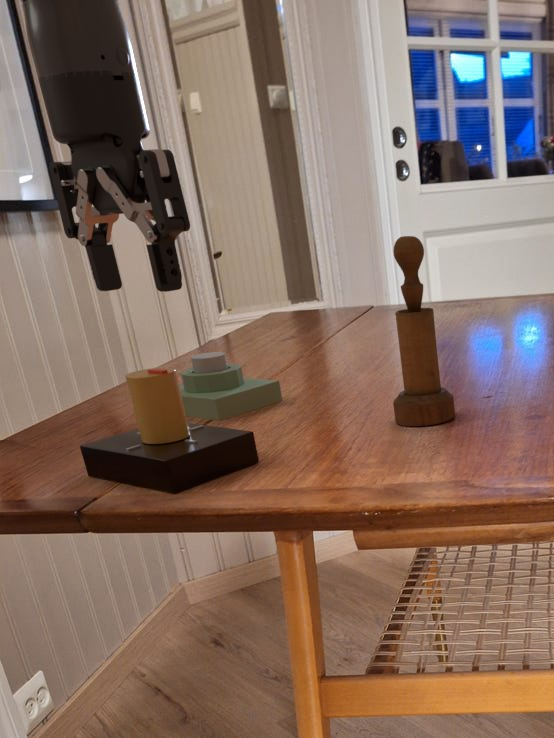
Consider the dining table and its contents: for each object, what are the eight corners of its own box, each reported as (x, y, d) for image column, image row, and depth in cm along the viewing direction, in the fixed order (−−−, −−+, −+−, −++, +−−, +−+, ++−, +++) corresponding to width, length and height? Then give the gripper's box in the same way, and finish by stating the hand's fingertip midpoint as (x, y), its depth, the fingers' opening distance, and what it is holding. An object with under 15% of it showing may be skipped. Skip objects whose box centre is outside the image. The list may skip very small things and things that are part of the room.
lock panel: (88, 476, 83) (78, 443, 81) (173, 448, 90) (166, 418, 88) (174, 494, 76) (165, 458, 74) (259, 462, 83) (253, 429, 82)
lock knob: (132, 441, 81) (114, 372, 78) (170, 429, 84) (154, 363, 81) (161, 446, 79) (144, 375, 76) (200, 434, 82) (184, 365, 79)
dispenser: (154, 412, 106) (145, 375, 103) (218, 394, 113) (210, 358, 111) (219, 421, 99) (211, 381, 97) (282, 401, 106) (276, 363, 104)
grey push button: (187, 375, 104) (183, 357, 103) (213, 368, 106) (210, 351, 106) (209, 377, 102) (205, 359, 101) (235, 370, 104) (232, 352, 103)
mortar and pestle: (407, 411, 97) (388, 235, 89) (462, 411, 96) (448, 231, 87) (386, 427, 92) (364, 240, 83) (445, 427, 90) (428, 236, 81)
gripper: (-6, 82, 70) (55, 296, 78) (99, 57, 62) (155, 297, 70) (77, 85, 75) (126, 285, 83) (183, 62, 68) (226, 284, 75)
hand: (139, 290), depth 76 cm, fingers open, 8 cm apart
